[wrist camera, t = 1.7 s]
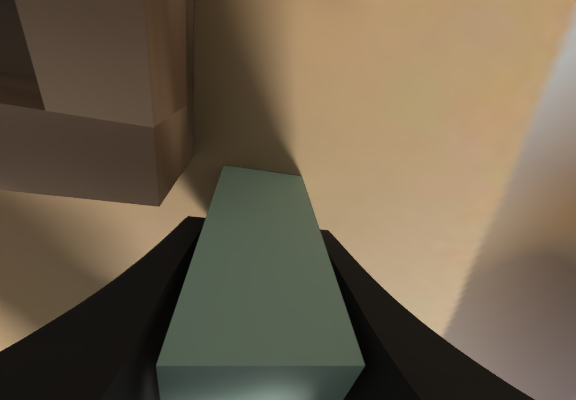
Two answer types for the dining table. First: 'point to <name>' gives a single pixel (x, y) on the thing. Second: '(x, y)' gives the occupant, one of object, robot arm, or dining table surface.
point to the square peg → (259, 302)
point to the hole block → (96, 97)
